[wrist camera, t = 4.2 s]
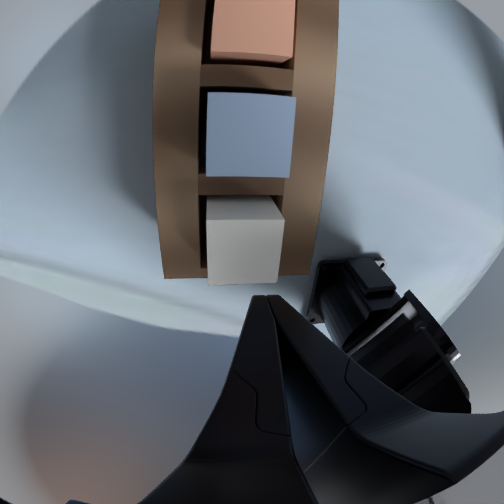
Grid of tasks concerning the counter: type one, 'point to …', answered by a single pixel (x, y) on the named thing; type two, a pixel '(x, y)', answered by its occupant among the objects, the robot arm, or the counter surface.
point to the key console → (195, 130)
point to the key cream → (243, 239)
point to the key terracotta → (252, 32)
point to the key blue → (249, 134)
